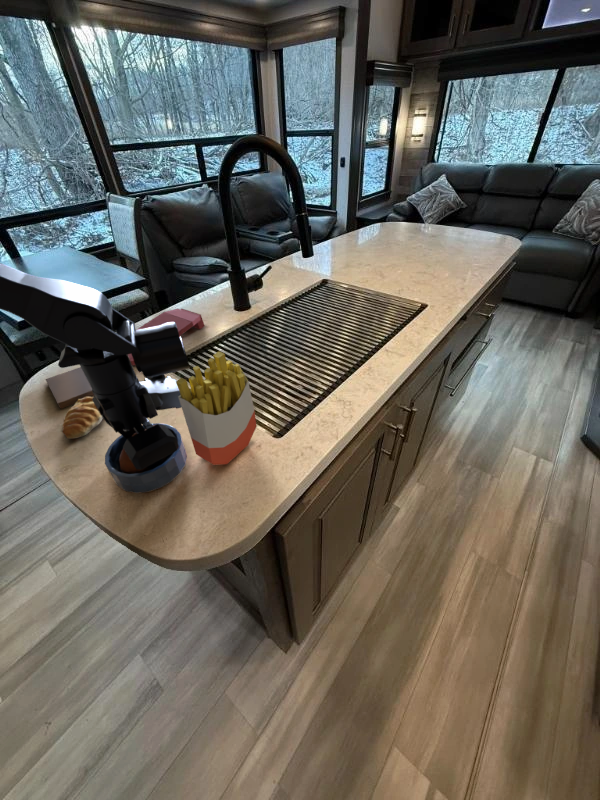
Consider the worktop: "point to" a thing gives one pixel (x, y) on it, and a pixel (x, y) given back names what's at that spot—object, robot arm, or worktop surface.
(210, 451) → the french fries container
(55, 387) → the flat rectangular box
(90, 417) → the pastry
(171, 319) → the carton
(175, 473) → the bowl
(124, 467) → the potato
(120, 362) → the robot arm
